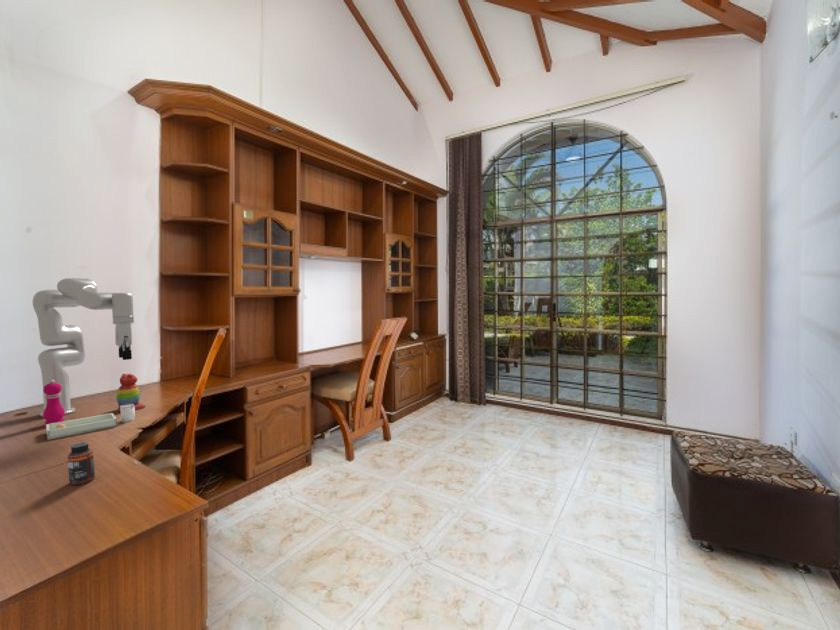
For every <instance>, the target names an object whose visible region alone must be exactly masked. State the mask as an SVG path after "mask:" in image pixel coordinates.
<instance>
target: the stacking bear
mask: <svg viewBox="0 0 840 630" xmlns="http://www.w3.org/2000/svg"><path fill="white" fill-rule="evenodd" d="M137 382H138V377H136V376H135V375H134V374H133V373H126V374H125V373H122V375H121V376H120V378H119V383H120V384H119V385H120V386H119V387H118V389H117V392H116V402H117V405H118V408H117V411H118V412H121V411H120V406H122V405H128V404H134V405H135V411H137V410H141V409H144V408H146V406H145V404H144V403H140V397H141V396H140V395H141V394H140V390H139V387H138V385H137V384H136V383H137Z"/></svg>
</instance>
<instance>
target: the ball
mask: <svg viewBox="0 0 840 630" xmlns="http://www.w3.org/2000/svg"><path fill="white" fill-rule="evenodd" d="M65 427H66V425H65V424H59V425H57V426H56V429H59V428H65Z"/></svg>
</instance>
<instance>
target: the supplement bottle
mask: <svg viewBox="0 0 840 630" xmlns="http://www.w3.org/2000/svg"><path fill="white" fill-rule="evenodd" d="M89 447H90V446H89V442H88V441H87V442H83V441H82V442H78V443H75V444H73V445H70V453H68V455H67V468H68V470H67V471H68V480H69V485H71V486H78V485H83V484H86V483H89V482H92V480H94V479H95V478H96V476H95V473H96V471H95V458H94V451H93V449H92V448H89Z"/></svg>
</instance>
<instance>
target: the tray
mask: <svg viewBox="0 0 840 630" xmlns="http://www.w3.org/2000/svg"><path fill="white" fill-rule="evenodd" d="M59 424H65V425H66V427H65V428H59V429H56V426H57V425H59ZM117 427H118V418H117V417H116V415H115V414H114V412H110V413H103V414H99V415H93V416H86V417H81V418H76V419H71V420H69V419H68V420H64V421H63V422H58V423H52V424H46V426H45V428H46V429H45V430H46V438H47V440H48V441H49V440H55V439H59V438H65V437H68V436H70V437H71V436H74V435H79V434H80V435H81V434H85V433H91V432H95V431H100V430H106V429H110V428H111V429H112V428H117Z"/></svg>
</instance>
